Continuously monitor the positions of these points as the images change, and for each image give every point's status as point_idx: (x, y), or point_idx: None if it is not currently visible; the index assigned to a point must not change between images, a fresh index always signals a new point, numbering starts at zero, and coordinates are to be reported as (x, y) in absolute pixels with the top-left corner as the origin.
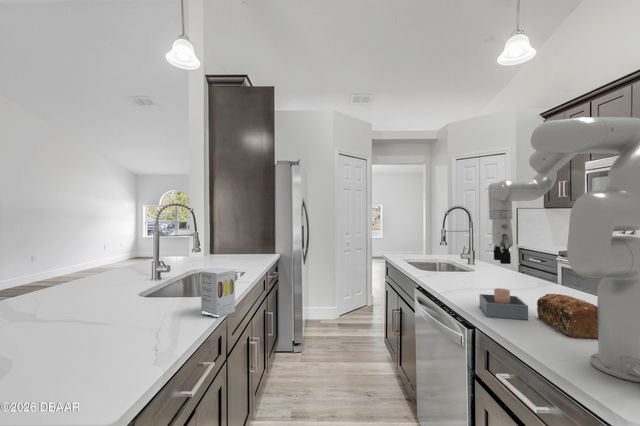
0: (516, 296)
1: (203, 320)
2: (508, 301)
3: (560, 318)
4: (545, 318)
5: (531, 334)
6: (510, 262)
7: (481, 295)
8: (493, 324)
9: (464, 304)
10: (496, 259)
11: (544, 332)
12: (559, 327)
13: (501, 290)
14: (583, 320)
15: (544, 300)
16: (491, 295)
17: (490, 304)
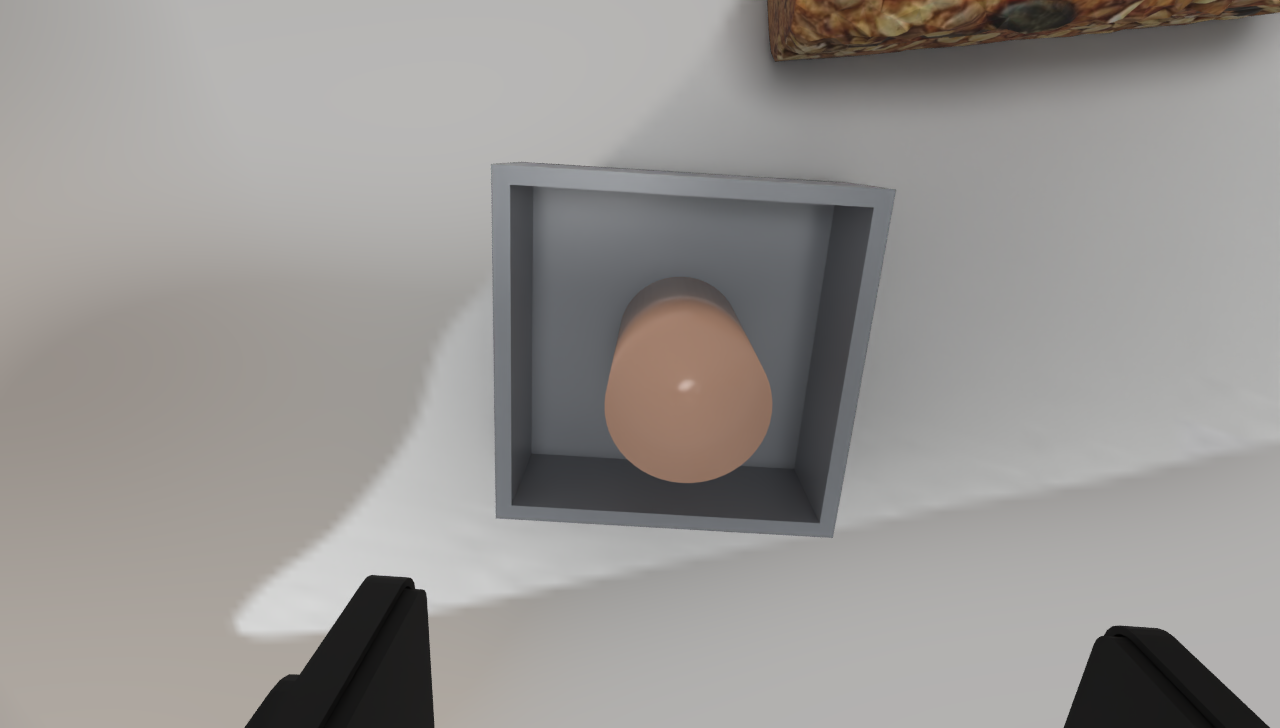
0: (509, 172)
1: None
2: (741, 327)
3: (1248, 8)
4: (914, 46)
5: (1165, 281)
6: (1176, 647)
7: (550, 513)
8: (961, 468)
9: (482, 554)
10: (431, 725)
11: (1130, 167)
12: (1141, 25)
13: (723, 422)
14: None
15: (1023, 23)
16: (511, 417)
17: (836, 501)
